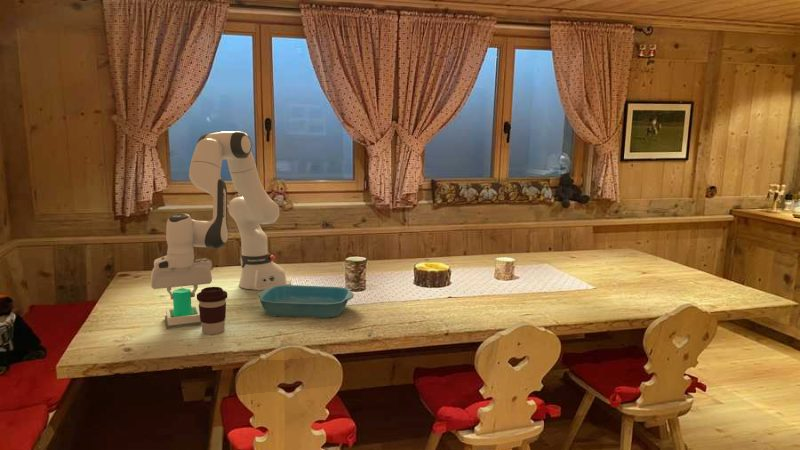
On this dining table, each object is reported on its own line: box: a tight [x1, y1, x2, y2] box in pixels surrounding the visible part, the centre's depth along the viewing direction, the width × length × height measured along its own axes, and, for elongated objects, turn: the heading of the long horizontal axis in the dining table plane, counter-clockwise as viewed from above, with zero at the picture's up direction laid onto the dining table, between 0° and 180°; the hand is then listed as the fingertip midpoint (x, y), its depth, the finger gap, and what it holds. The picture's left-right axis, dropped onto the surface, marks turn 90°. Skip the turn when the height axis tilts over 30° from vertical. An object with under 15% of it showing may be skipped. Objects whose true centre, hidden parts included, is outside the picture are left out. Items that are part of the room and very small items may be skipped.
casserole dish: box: [257, 284, 354, 319], centre depth 218 cm, size 37×22×7 cm, turn 85°
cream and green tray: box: [164, 305, 202, 329], centre depth 204 cm, size 15×11×4 cm
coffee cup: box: [196, 286, 228, 335], centre depth 193 cm, size 10×10×15 cm
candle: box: [172, 286, 192, 317], centre depth 202 cm, size 6×6×12 cm
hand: (182, 297), depth 202 cm, fingers closed on candle, 5 cm apart
